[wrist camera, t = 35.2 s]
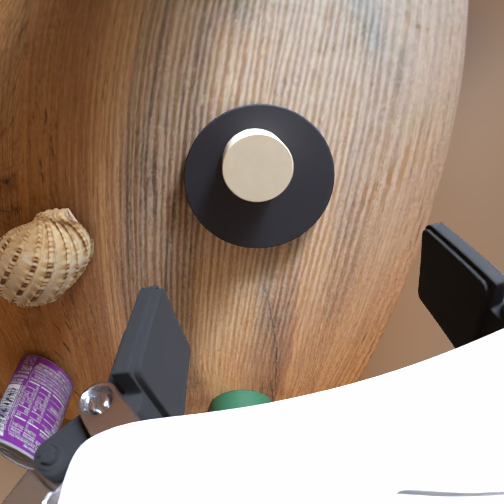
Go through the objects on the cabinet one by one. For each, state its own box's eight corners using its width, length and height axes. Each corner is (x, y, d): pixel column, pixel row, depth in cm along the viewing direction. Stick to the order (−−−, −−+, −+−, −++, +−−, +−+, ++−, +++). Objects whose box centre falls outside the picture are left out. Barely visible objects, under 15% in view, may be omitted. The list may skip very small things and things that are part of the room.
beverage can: (23, 374, 30) (-9, 452, 19) (22, 340, 27) (-21, 427, 17) (72, 397, 32) (48, 480, 21) (78, 367, 29) (47, 462, 19)
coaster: (359, 158, 21) (362, 161, 20) (278, 266, 25) (279, 270, 24) (237, 74, 18) (237, 74, 17) (159, 202, 21) (157, 205, 21)
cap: (241, 117, 19) (243, 121, 17) (297, 147, 20) (306, 155, 18) (211, 173, 20) (209, 183, 18) (266, 199, 21) (271, 213, 19)
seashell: (41, 179, 22) (-10, 276, 21) (17, 173, 17) (-38, 293, 16) (110, 229, 25) (56, 324, 24) (103, 236, 20) (40, 352, 19)
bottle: (283, 396, 33) (308, 544, 18) (254, 426, 36) (269, 555, 21) (224, 383, 31) (231, 548, 16) (201, 415, 34) (201, 554, 19)
